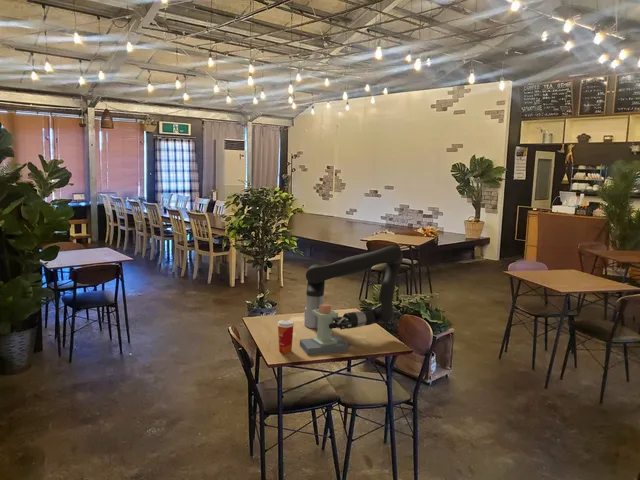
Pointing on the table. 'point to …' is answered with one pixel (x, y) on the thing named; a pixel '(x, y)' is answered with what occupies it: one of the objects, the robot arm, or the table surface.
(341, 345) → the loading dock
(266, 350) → the table surface
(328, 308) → the cube
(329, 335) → the green pedestal
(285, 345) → the paper cup
